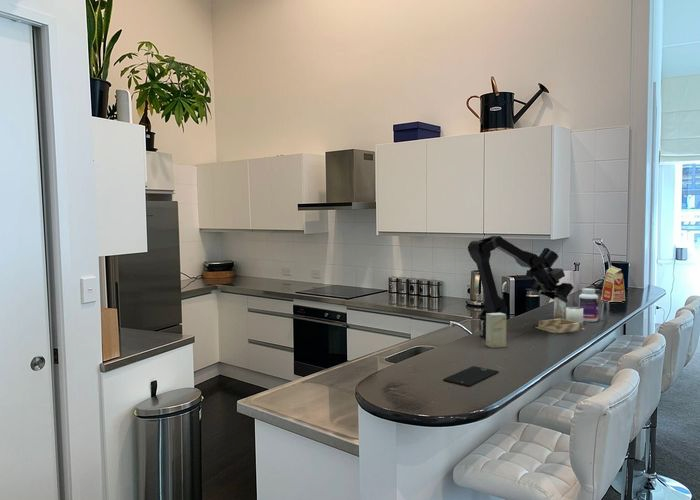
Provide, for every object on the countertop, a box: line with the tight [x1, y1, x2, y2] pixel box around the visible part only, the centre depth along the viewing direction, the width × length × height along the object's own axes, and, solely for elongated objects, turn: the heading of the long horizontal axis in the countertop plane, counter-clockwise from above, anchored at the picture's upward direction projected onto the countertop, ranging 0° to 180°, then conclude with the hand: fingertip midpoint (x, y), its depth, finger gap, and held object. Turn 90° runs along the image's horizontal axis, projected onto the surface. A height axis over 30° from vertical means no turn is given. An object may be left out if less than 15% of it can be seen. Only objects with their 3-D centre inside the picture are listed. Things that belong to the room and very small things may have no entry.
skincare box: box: [485, 313, 507, 349], centre depth 191 cm, size 6×4×12 cm
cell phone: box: [442, 365, 500, 388], centre depth 155 cm, size 9×18×1 cm, turn 137°
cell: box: [553, 291, 567, 319], centre depth 218 cm, size 5×5×14 cm
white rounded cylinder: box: [565, 306, 584, 326], centre depth 229 cm, size 7×7×7 cm
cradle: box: [534, 318, 585, 334], centre depth 219 cm, size 16×11×3 cm
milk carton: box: [600, 265, 626, 303], centre depth 285 cm, size 9×9×20 cm
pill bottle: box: [578, 287, 599, 323], centre depth 235 cm, size 8×8×14 cm
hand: (562, 301), depth 218 cm, fingers closed on cell, 5 cm apart
